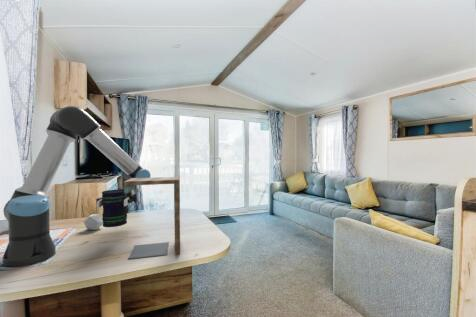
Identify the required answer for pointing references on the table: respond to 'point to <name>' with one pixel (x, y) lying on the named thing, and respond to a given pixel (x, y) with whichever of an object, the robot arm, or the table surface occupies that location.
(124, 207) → the rusty oil drum
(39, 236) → the robot arm
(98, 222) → the die
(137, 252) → the pad
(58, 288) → the table surface
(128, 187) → the wooden gallows frame
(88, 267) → the table surface
